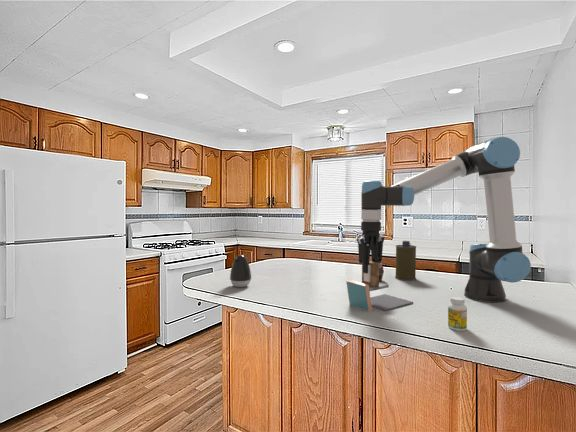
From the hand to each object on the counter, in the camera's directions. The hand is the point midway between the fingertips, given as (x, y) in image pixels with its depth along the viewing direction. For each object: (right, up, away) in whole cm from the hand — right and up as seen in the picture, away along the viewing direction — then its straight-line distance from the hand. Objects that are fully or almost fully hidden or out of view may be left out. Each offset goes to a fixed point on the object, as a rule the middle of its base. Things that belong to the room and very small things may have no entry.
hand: (370, 280), depth 129 cm
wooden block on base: (0, -3, 0) cm, 3 cm away
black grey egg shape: (-55, -9, +30) cm, 63 cm away
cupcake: (+13, -9, +43) cm, 46 cm away
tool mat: (+7, -10, +4) cm, 12 cm away
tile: (-4, -10, -3) cm, 11 cm away
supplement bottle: (+22, -11, -23) cm, 34 cm away
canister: (+31, -8, +48) cm, 58 cm away
